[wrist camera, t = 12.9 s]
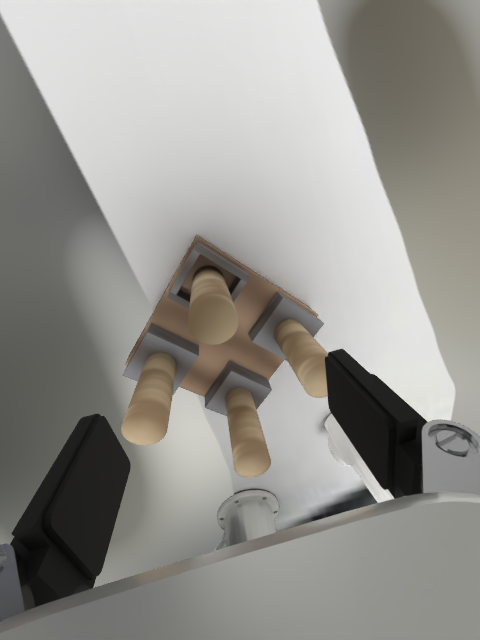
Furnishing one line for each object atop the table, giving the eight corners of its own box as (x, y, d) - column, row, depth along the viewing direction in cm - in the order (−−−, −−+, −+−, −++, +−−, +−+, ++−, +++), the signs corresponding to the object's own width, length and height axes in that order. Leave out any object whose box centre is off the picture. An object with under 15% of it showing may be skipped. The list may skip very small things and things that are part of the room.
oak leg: (230, 275, 29) (248, 313, 18) (214, 301, 30) (221, 352, 19) (202, 259, 28) (204, 288, 17) (186, 286, 29) (178, 331, 18)
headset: (310, 423, 44) (374, 543, 28) (342, 398, 43) (427, 509, 27) (365, 468, 52) (441, 584, 36) (393, 448, 51) (484, 559, 35)
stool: (240, 399, 40) (261, 495, 26) (130, 352, 34) (84, 445, 20) (309, 307, 35) (378, 366, 22) (196, 234, 29) (194, 253, 16)
